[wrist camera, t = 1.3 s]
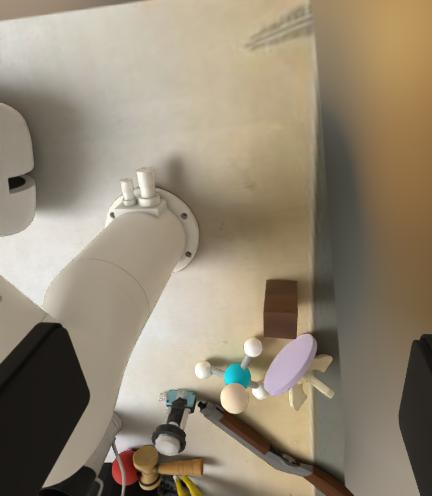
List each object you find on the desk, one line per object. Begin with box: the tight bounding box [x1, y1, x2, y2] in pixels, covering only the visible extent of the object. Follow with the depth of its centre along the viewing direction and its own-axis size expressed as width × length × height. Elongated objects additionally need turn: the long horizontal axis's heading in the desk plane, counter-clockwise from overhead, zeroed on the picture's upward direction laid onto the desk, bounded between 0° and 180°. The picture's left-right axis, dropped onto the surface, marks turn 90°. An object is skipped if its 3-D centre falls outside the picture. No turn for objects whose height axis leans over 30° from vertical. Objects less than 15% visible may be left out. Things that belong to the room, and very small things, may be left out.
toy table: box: [264, 334, 335, 411], centre depth 51 cm, size 10×9×6 cm
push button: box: [152, 389, 196, 456], centre depth 60 cm, size 7×5×10 cm
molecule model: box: [195, 338, 269, 414], centre depth 54 cm, size 12×12×9 cm
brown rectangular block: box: [263, 280, 298, 339], centre depth 47 cm, size 4×4×7 cm
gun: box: [198, 401, 354, 496], centre depth 65 cm, size 2×34×7 cm
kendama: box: [112, 446, 203, 490], centre depth 72 cm, size 8×6×18 cm
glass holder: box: [38, 412, 125, 496], centre depth 65 cm, size 9×14×15 cm, turn 55°
